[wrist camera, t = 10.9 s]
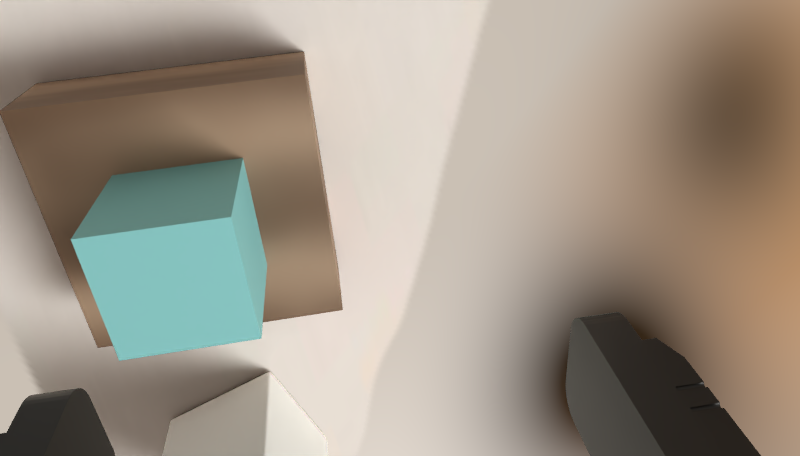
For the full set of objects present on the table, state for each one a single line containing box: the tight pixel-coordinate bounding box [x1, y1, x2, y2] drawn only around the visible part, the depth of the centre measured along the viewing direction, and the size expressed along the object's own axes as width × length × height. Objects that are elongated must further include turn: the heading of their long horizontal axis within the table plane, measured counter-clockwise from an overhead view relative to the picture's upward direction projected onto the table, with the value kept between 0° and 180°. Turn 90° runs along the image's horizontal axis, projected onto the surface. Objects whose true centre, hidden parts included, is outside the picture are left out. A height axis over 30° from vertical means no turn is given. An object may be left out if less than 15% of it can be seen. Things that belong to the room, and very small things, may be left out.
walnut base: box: [0, 52, 343, 348], centre depth 30 cm, size 12×12×4 cm
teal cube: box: [71, 158, 267, 361], centre depth 25 cm, size 6×6×6 cm
